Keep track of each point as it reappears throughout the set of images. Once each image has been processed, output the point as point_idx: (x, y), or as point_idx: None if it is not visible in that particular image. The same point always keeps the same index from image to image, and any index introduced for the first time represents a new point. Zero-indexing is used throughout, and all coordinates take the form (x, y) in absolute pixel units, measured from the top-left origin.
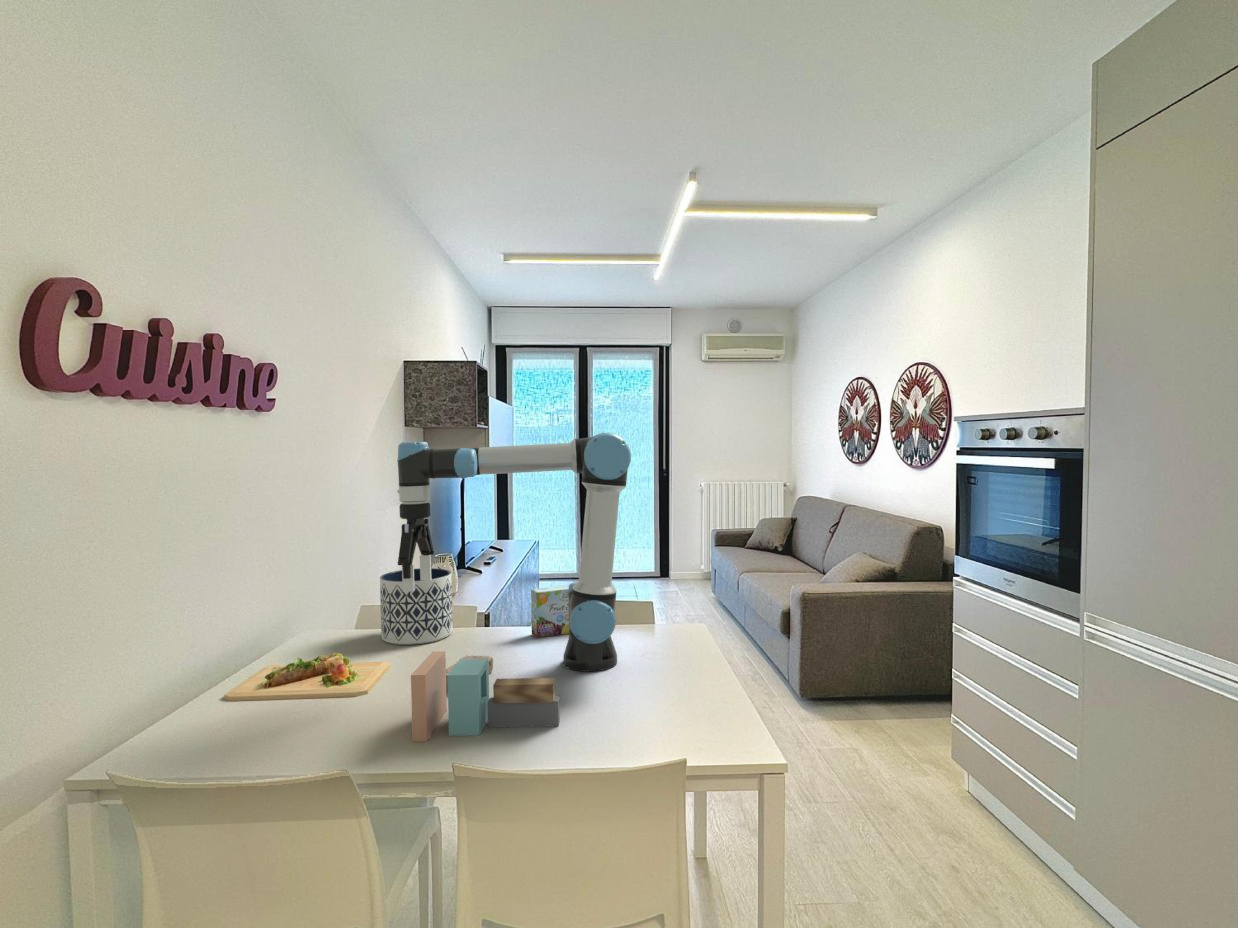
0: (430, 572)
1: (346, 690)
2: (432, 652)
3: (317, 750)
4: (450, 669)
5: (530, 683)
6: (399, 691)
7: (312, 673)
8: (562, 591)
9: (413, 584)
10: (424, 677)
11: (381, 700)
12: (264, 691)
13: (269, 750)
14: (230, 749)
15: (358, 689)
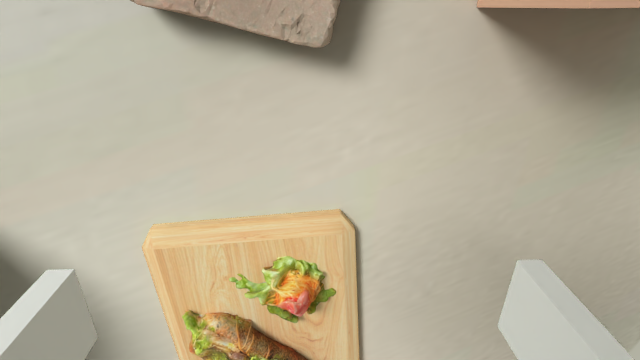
0: (21, 324)
1: (349, 252)
2: (601, 4)
3: (622, 187)
4: (271, 18)
5: None
6: (329, 144)
7: (276, 345)
8: None
9: (579, 300)
10: None
11: (385, 164)
12: None
13: (592, 260)
14: None
15: (346, 231)
